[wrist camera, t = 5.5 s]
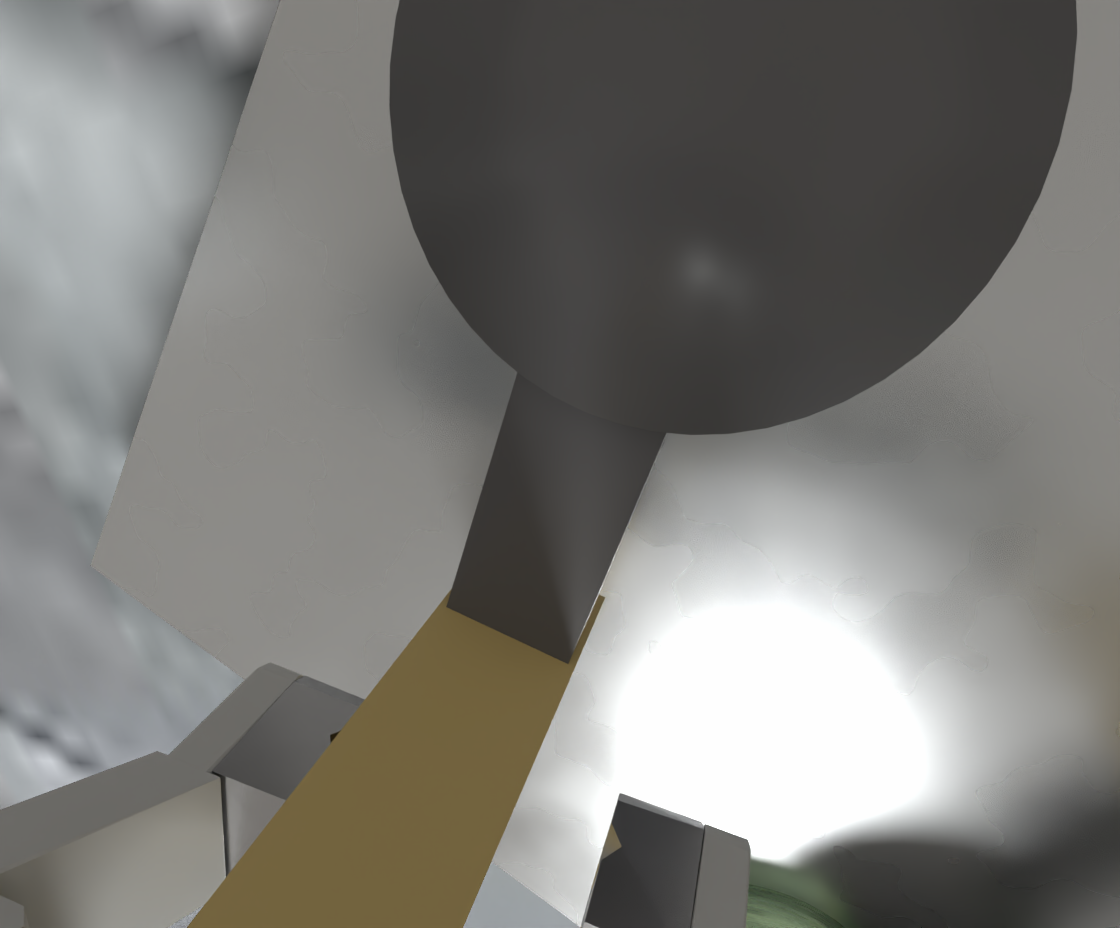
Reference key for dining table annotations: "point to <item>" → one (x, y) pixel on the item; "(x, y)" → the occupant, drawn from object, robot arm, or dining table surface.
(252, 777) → the robot arm
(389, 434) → the leveling plate
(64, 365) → the dining table surface
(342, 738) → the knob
